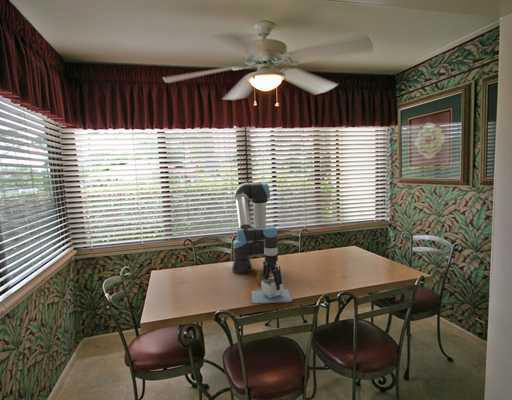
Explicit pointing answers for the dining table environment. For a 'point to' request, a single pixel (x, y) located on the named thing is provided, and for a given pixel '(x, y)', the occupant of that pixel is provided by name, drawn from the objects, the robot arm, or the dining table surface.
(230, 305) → the dining table surface
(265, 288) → the grey open box
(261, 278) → the potato
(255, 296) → the vent plate
